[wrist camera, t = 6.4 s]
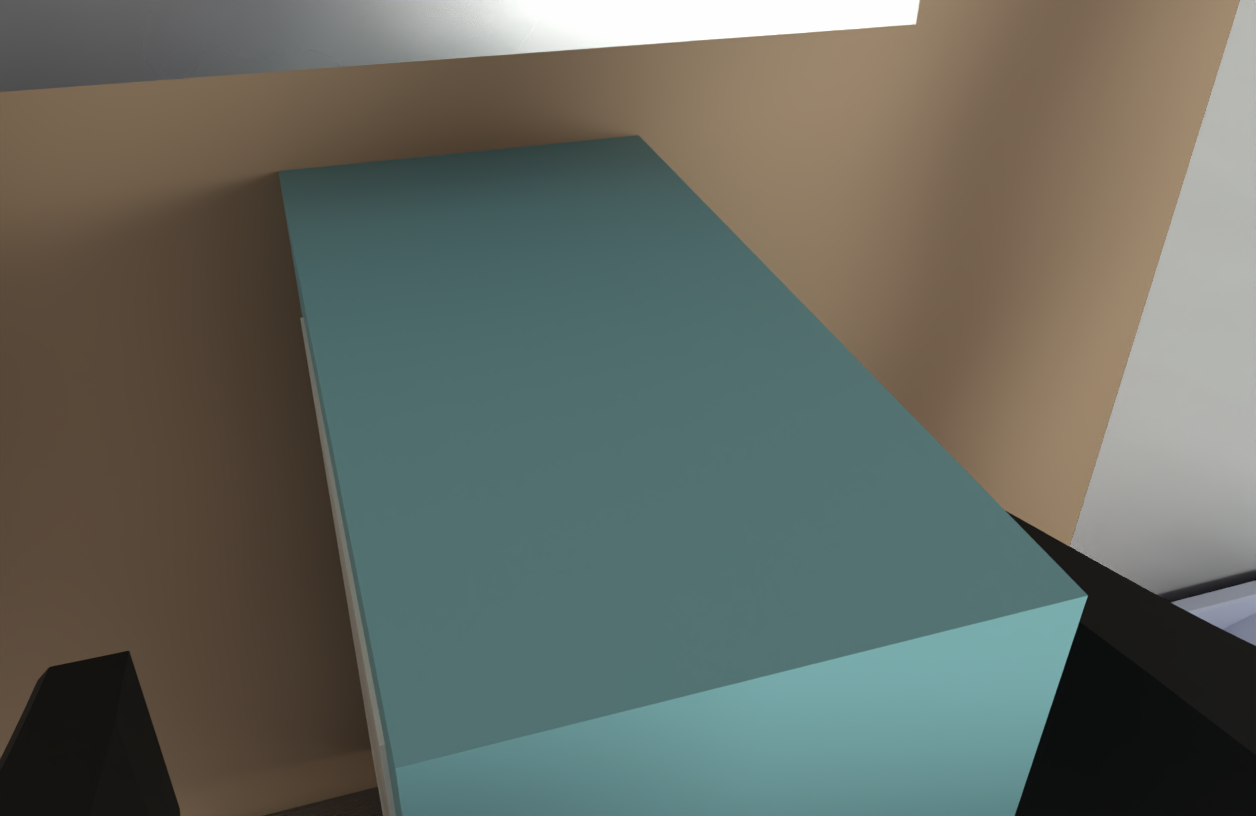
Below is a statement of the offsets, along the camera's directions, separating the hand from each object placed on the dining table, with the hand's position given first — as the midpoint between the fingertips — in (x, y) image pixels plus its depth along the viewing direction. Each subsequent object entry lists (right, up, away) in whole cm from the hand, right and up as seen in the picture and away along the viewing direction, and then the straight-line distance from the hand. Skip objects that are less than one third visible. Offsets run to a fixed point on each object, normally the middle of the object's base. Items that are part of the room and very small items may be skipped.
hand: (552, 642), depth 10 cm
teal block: (-1, +1, +2) cm, 3 cm away
